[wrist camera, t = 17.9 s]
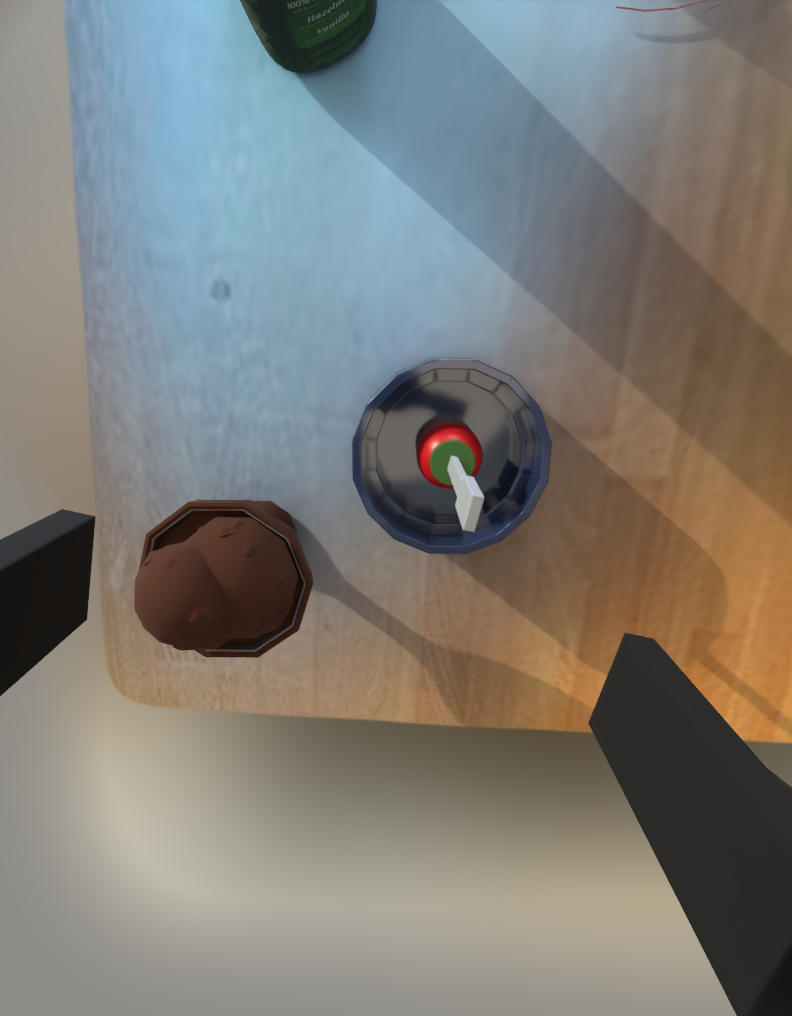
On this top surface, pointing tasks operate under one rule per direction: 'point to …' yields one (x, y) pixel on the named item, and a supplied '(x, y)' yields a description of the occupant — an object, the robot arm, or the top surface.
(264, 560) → the ice cream bowl
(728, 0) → the figurine
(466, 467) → the red candy apple
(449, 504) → the dessert bowl
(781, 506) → the top surface
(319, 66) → the coffee jar
